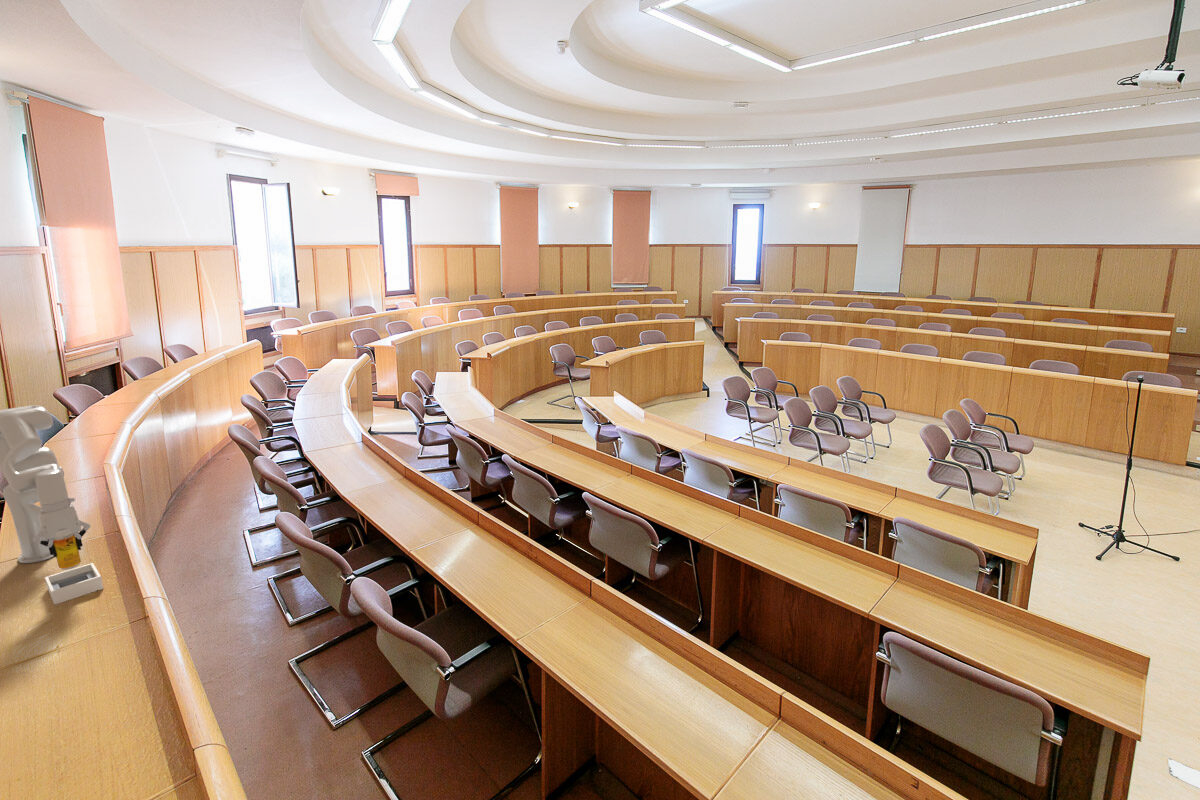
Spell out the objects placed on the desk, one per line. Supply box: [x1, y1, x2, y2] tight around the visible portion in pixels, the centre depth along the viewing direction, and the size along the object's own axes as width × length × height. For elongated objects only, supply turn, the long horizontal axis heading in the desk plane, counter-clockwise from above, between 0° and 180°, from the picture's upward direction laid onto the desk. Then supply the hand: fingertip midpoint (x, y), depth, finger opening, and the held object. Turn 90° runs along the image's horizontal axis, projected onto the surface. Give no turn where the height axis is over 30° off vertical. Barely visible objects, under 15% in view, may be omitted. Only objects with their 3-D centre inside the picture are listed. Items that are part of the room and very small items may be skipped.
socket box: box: [44, 562, 104, 605], centre depth 221 cm, size 14×14×5 cm
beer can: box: [53, 528, 82, 571], centre depth 217 cm, size 6×6×15 cm
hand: (67, 551), depth 218 cm, fingers closed on beer can, 6 cm apart
